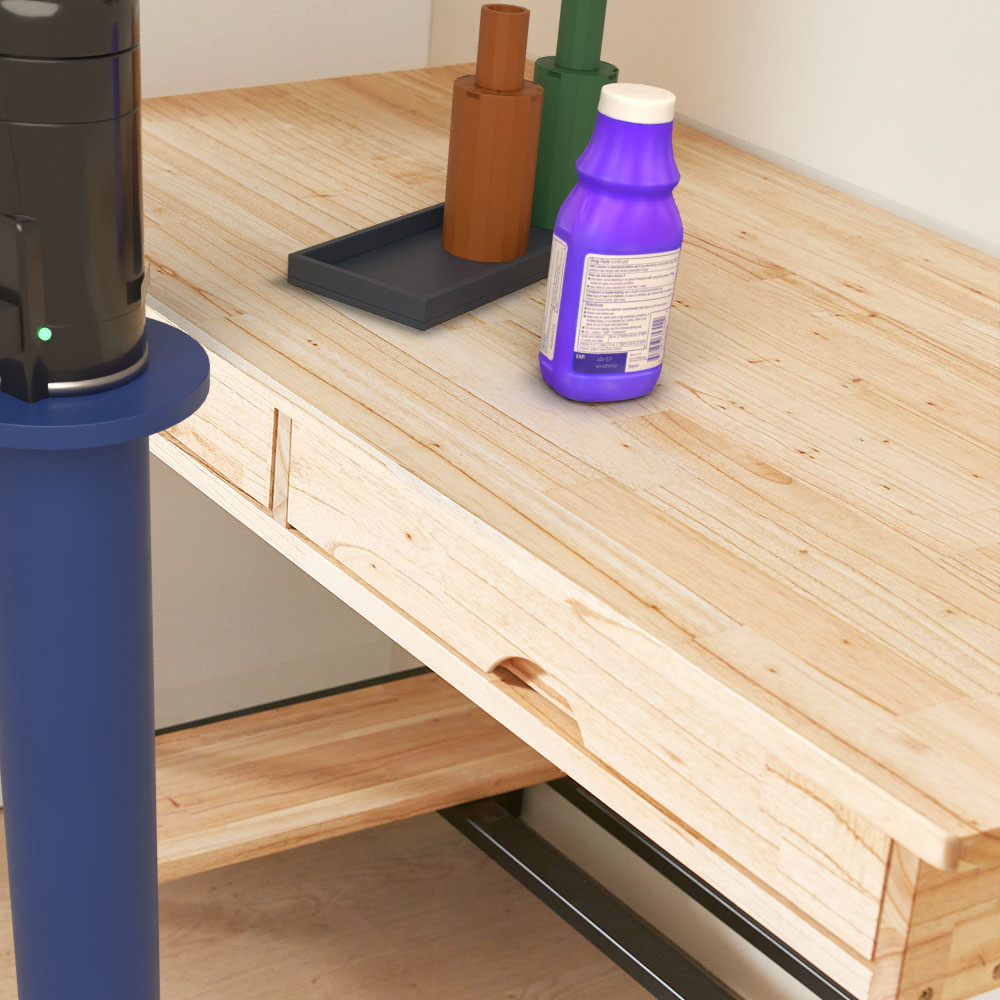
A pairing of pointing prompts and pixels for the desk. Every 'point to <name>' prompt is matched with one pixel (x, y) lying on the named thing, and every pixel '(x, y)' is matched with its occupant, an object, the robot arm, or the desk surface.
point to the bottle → (615, 253)
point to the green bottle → (568, 104)
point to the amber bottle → (493, 144)
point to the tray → (413, 270)
